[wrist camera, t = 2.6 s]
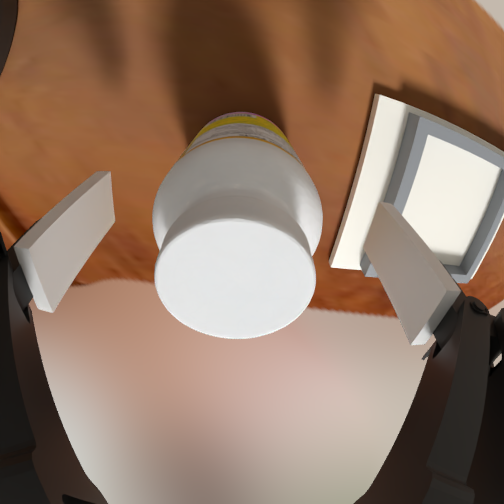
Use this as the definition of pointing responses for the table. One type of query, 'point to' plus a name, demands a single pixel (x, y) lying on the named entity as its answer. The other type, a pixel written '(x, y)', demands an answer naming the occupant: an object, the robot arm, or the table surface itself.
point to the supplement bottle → (237, 230)
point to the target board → (424, 188)
